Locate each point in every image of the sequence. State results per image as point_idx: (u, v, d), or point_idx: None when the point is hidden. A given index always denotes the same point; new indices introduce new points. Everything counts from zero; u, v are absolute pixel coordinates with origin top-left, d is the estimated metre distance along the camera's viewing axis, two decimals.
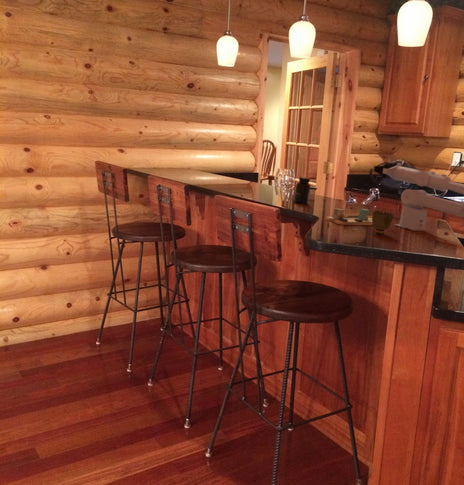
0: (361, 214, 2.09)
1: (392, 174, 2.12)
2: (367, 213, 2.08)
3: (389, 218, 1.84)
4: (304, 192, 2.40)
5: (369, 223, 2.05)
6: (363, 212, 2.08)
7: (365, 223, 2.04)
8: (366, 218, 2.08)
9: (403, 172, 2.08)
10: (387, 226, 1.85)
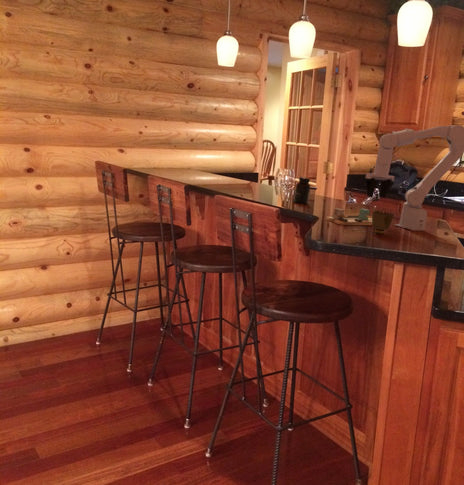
0: (361, 214, 2.09)
1: None
2: (367, 213, 2.08)
3: (389, 218, 1.84)
4: (304, 192, 2.40)
5: (369, 223, 2.05)
6: (363, 212, 2.08)
7: (365, 223, 2.04)
8: (366, 218, 2.08)
9: (381, 163, 2.05)
10: (387, 226, 1.85)
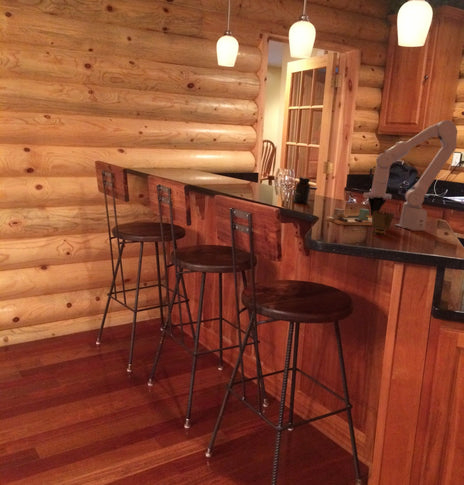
0: (361, 214, 2.09)
1: None
2: (367, 213, 2.08)
3: (389, 218, 1.84)
4: (304, 192, 2.40)
5: (369, 223, 2.05)
6: (363, 212, 2.08)
7: (365, 223, 2.04)
8: (366, 218, 2.08)
9: (378, 182, 2.07)
10: (387, 226, 1.85)
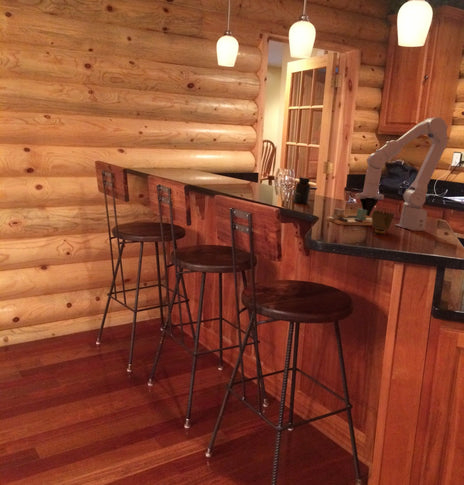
0: (359, 214, 2.08)
1: (366, 194, 2.06)
2: (365, 213, 2.07)
3: (389, 218, 1.84)
4: (304, 192, 2.40)
5: (369, 223, 2.05)
6: (361, 212, 2.07)
7: (365, 223, 2.04)
8: (364, 218, 2.08)
9: (371, 182, 2.04)
10: (387, 226, 1.85)
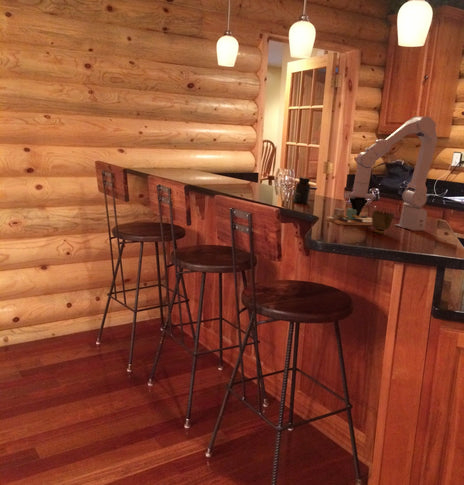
0: (348, 214, 2.05)
1: None
2: (354, 213, 2.04)
3: (389, 218, 1.84)
4: (304, 192, 2.40)
5: (369, 223, 2.05)
6: (350, 211, 2.04)
7: (365, 223, 2.04)
8: (353, 218, 2.04)
9: (361, 182, 2.01)
10: (387, 226, 1.85)
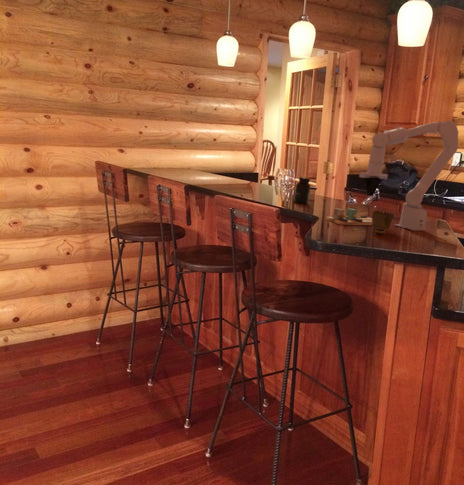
0: (348, 214, 2.05)
1: None
2: (354, 213, 2.04)
3: (389, 218, 1.84)
4: (304, 192, 2.40)
5: (369, 223, 2.05)
6: (350, 211, 2.04)
7: (365, 223, 2.04)
8: (353, 218, 2.04)
9: (373, 161, 2.08)
10: (387, 226, 1.85)
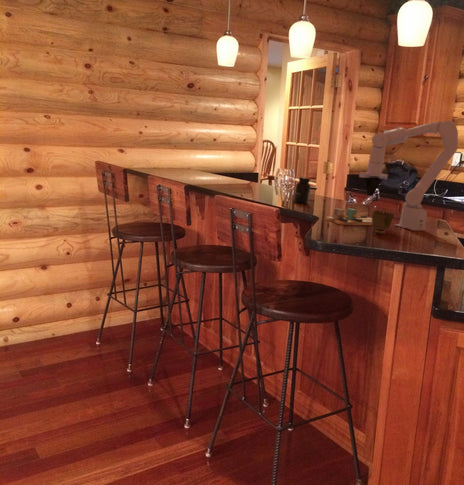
0: (348, 214, 2.05)
1: (370, 173, 2.10)
2: (354, 213, 2.04)
3: (389, 218, 1.84)
4: (304, 192, 2.40)
5: (369, 223, 2.05)
6: (350, 211, 2.04)
7: (365, 223, 2.04)
8: (353, 218, 2.04)
9: (373, 161, 2.09)
10: (387, 226, 1.85)
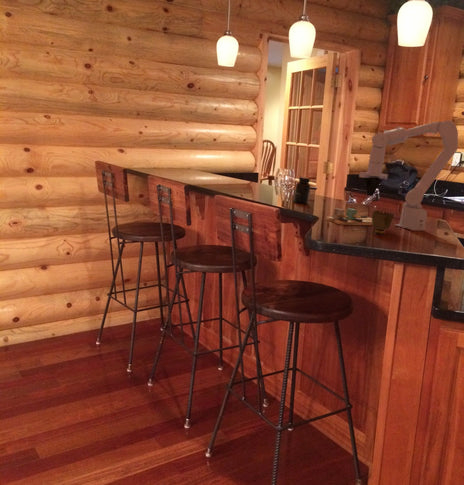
0: (348, 214, 2.05)
1: (370, 173, 2.10)
2: (354, 213, 2.04)
3: (389, 218, 1.84)
4: (304, 192, 2.40)
5: (369, 223, 2.05)
6: (350, 211, 2.04)
7: (365, 223, 2.04)
8: (353, 218, 2.04)
9: (373, 161, 2.09)
10: (387, 226, 1.85)
